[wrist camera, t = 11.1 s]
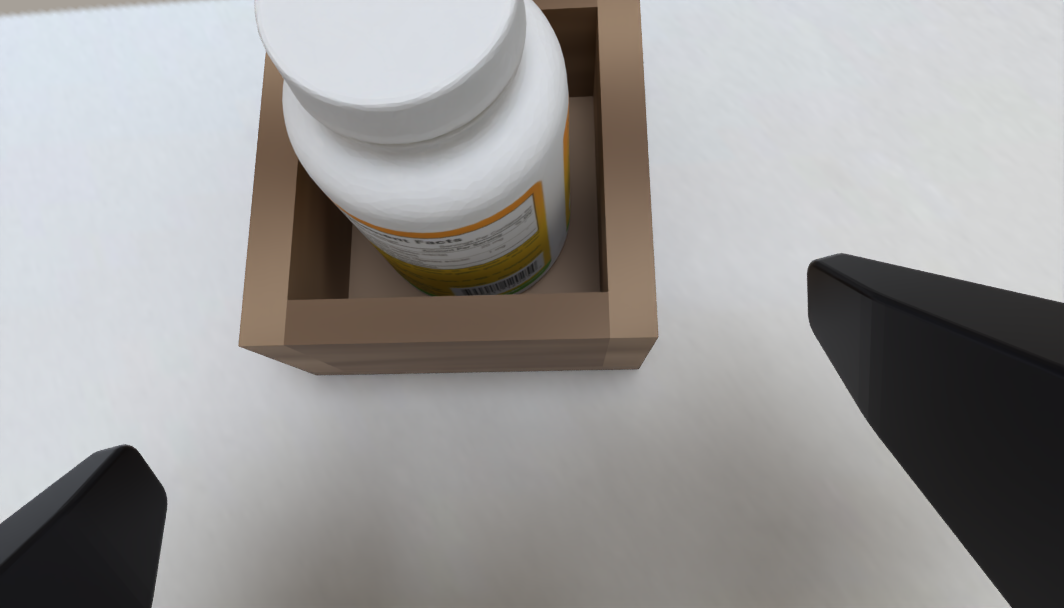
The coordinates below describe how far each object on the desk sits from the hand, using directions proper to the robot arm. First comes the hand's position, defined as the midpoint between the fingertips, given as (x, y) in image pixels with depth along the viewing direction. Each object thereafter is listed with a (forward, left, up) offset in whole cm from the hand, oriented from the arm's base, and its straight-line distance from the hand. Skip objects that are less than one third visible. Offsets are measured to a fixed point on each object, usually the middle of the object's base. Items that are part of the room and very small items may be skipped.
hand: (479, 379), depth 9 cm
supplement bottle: (+3, +5, -10) cm, 11 cm away
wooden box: (+4, +5, -10) cm, 12 cm away
